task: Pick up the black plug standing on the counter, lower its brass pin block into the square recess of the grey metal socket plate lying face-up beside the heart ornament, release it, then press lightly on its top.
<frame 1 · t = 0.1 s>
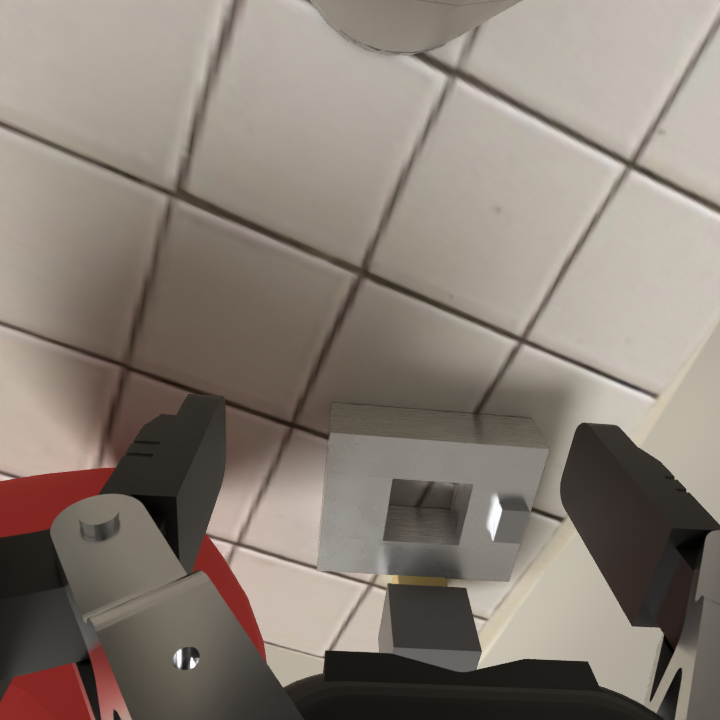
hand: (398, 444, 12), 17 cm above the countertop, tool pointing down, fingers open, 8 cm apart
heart: (139, 476, 34), on the countertop
socket plate: (420, 478, 34), on the countertop
plug: (415, 576, 38), on the countertop
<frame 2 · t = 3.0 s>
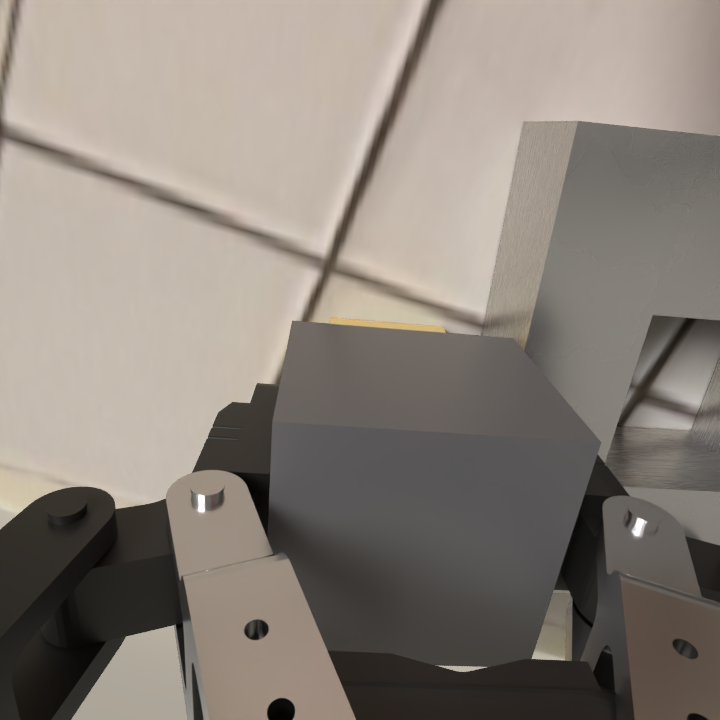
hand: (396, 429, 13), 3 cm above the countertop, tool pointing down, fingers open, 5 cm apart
socket plate: (644, 359, 16), on the countertop
plug: (380, 373, 16), on the countertop
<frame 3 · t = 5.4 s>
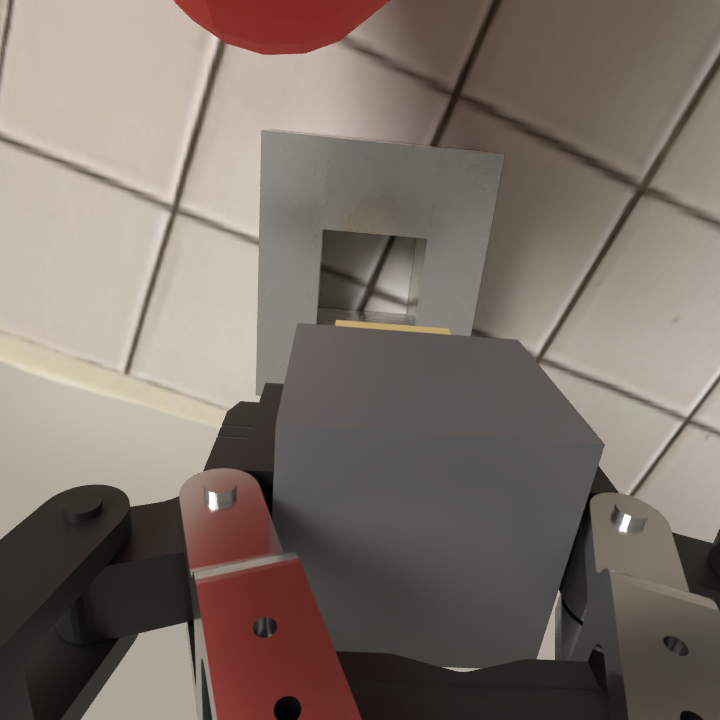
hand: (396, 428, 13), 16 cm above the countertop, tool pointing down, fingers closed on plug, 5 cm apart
socket plate: (367, 268, 27), on the countertop
plug: (386, 375, 16), point 13 cm above the countertop, touching gripper
when the fingers open (3 cm above the countertop, at t = 7.6 s): plug stays where it is, resting on socket plate.
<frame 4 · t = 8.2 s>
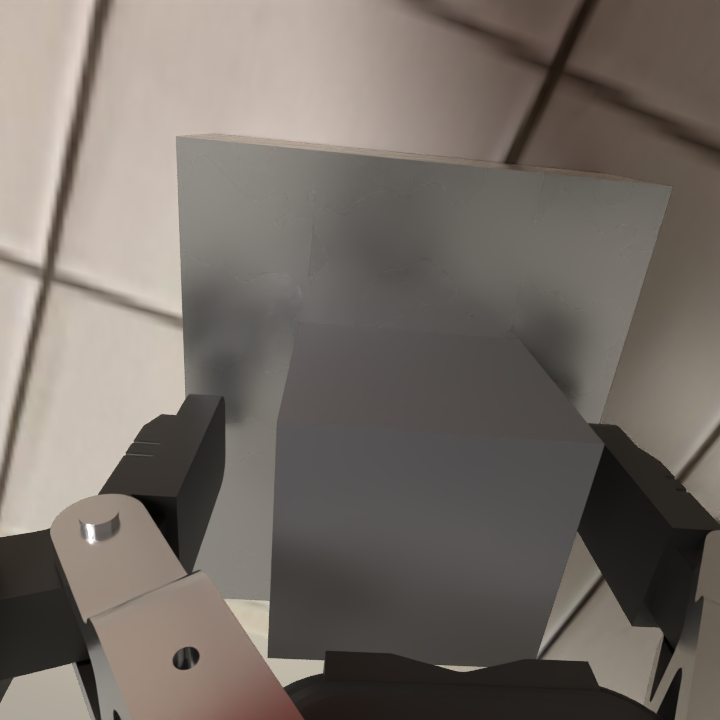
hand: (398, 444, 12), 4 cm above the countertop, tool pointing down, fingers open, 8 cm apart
socket plate: (385, 369, 16), on the countertop
plug: (387, 374, 16), resting on socket plate
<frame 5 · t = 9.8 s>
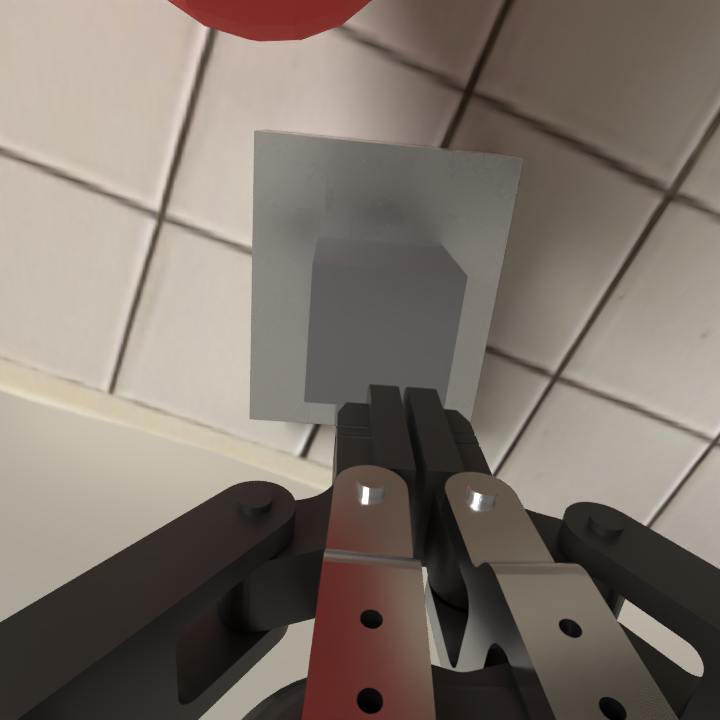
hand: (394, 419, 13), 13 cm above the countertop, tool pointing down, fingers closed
socket plate: (370, 280, 25), on the countertop
plug: (371, 283, 25), resting on socket plate
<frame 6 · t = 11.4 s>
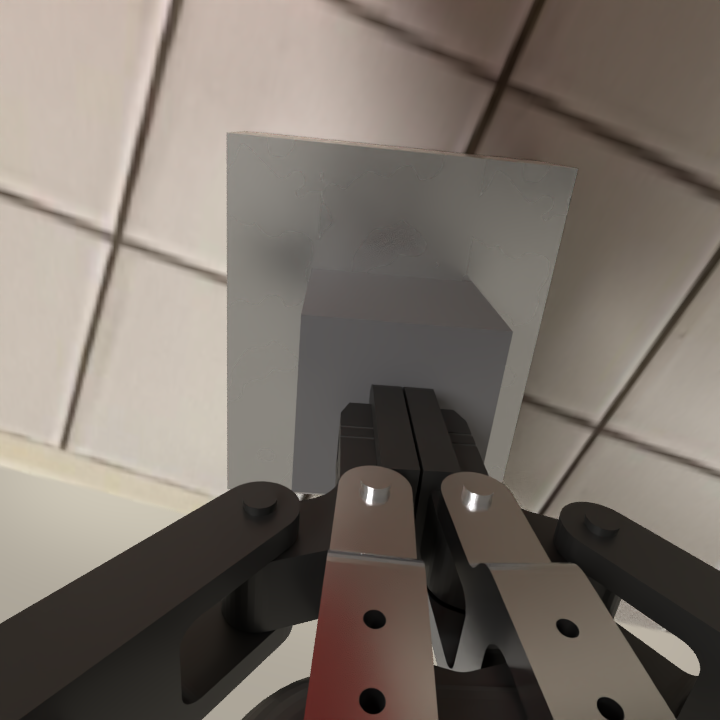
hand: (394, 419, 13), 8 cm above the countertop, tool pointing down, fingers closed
socket plate: (376, 315, 21), on the countertop
plug: (378, 319, 20), resting on socket plate
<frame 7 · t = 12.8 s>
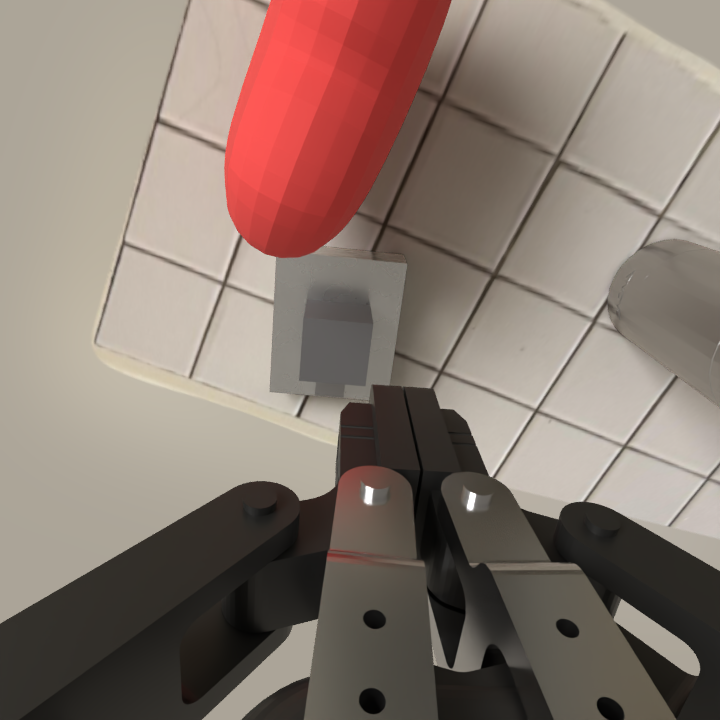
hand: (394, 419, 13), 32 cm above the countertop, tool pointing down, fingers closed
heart: (337, 89, 40), on the countertop
socket plate: (335, 317, 46), on the countertop
plug: (336, 319, 46), resting on socket plate
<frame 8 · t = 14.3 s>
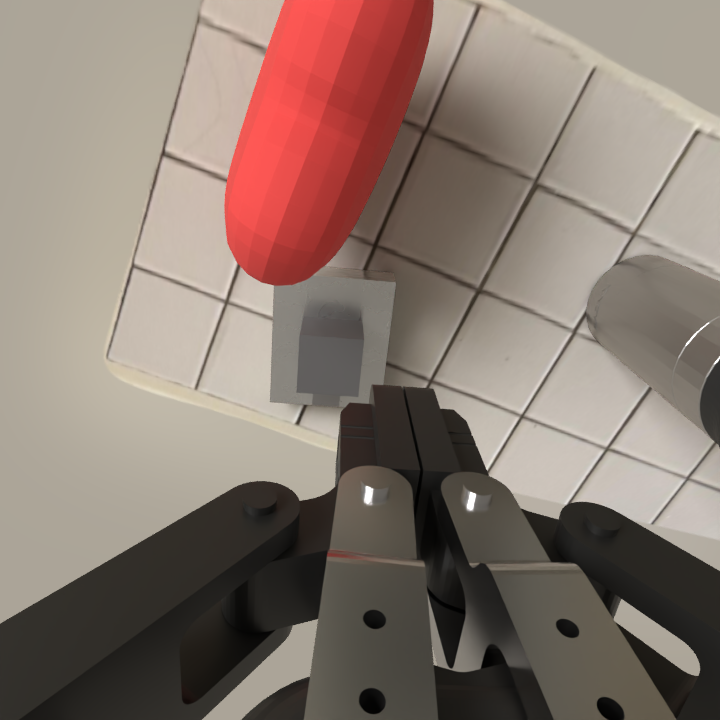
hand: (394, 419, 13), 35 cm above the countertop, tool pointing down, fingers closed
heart: (328, 122, 43), on the countertop
socket plate: (331, 331, 50), on the countertop
plug: (331, 333, 49), resting on socket plate
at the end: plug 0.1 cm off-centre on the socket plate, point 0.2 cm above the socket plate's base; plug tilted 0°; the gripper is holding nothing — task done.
